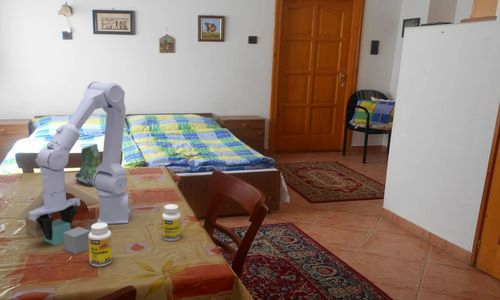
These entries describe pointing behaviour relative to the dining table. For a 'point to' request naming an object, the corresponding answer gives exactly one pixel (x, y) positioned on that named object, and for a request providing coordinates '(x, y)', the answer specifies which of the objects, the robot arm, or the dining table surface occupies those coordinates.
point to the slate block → (76, 240)
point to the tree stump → (89, 164)
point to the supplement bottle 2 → (171, 223)
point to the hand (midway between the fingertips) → (57, 235)
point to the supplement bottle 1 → (100, 245)
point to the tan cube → (33, 228)
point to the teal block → (58, 231)
